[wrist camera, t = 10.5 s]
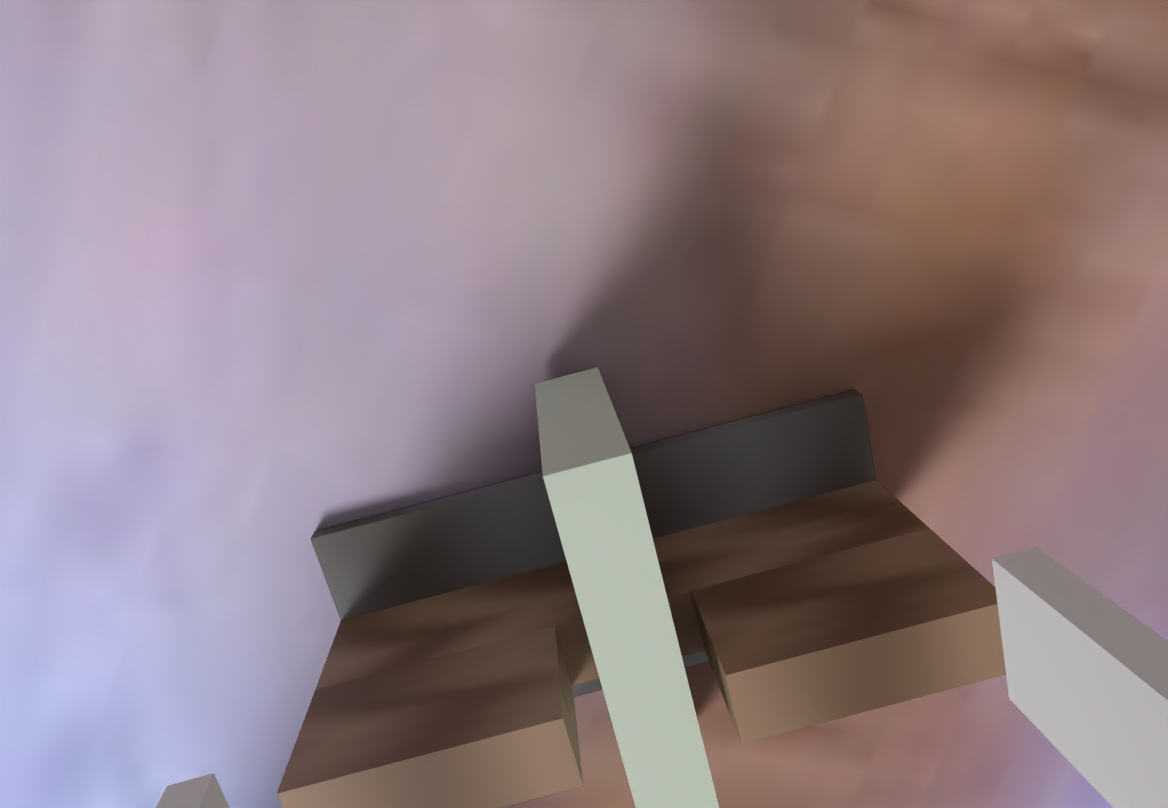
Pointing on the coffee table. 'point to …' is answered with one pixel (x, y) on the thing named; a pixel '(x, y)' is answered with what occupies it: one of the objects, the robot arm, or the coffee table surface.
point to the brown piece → (696, 599)
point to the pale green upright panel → (621, 592)
